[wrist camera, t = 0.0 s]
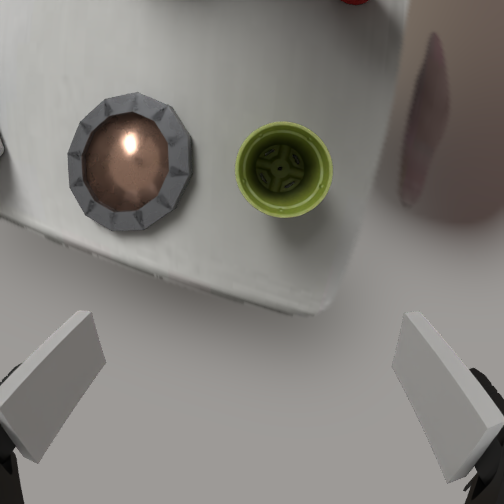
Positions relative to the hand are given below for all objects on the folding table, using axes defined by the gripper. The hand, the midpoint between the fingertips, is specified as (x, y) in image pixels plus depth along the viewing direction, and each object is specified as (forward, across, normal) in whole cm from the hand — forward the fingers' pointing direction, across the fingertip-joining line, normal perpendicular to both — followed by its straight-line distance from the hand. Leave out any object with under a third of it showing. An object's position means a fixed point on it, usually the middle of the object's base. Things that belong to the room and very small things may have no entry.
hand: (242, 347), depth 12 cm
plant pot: (+28, +3, +6) cm, 29 cm away
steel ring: (+28, -17, +8) cm, 34 cm away
